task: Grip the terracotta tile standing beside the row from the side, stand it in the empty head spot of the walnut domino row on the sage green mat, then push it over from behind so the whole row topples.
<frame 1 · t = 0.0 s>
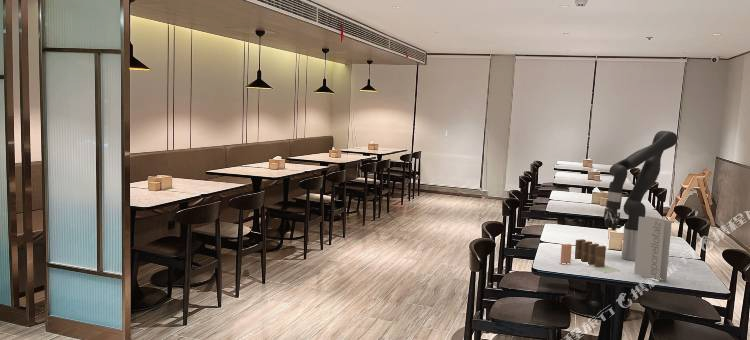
hand: (609, 228, 317), 17 cm above the table, tool pointing down, fingers open, 8 cm apart
tile 4: (592, 264, 304), resting on mat
tile 5: (599, 266, 299), resting on mat
mat: (588, 263, 307), on the table
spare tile: (565, 264, 303), on the table
tile 2: (579, 259, 313), resting on mat
tile 3: (585, 261, 309), resting on mat
brochure: (649, 277, 284), on the table
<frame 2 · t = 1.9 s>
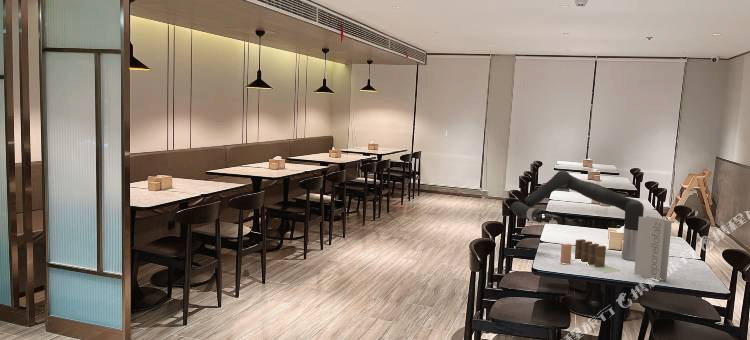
hand: (555, 220, 310), 22 cm above the table, tool horizontal, fingers open, 8 cm apart
nothing on the table moved.
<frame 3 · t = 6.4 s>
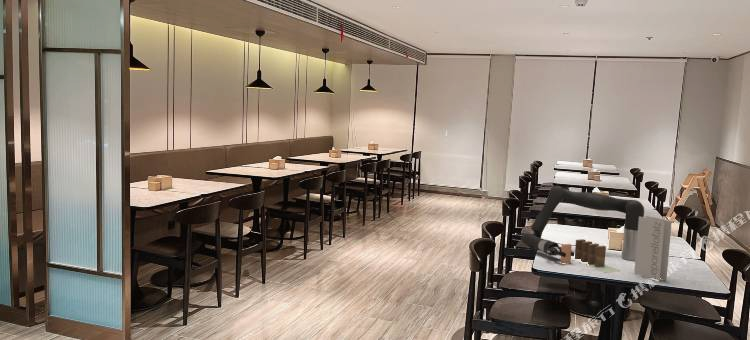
hand: (569, 254, 300), 6 cm above the table, tool horizontal, fingers closed on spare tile, 5 cm apart
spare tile: (565, 264, 303), on the table, touching gripper
everything else where it was.
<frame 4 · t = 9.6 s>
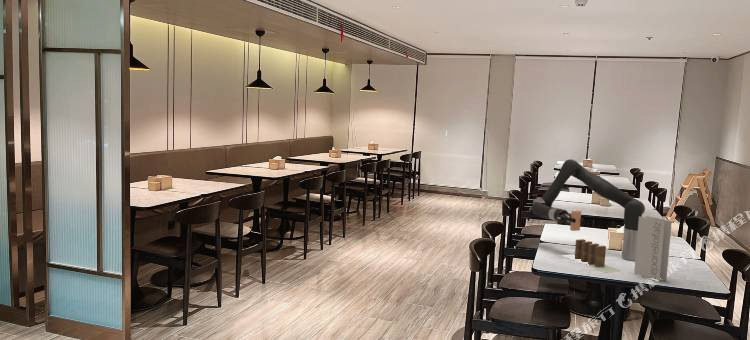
hand: (579, 220, 313), 22 cm above the table, tool horizontal, fingers closed on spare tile, 5 cm apart
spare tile: (574, 230, 316), point 16 cm above the table, touching gripper
everything else where it was.
when the fingers open (8 cm above the table, at t = 12.8 s): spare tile stays where it is, resting on mat.
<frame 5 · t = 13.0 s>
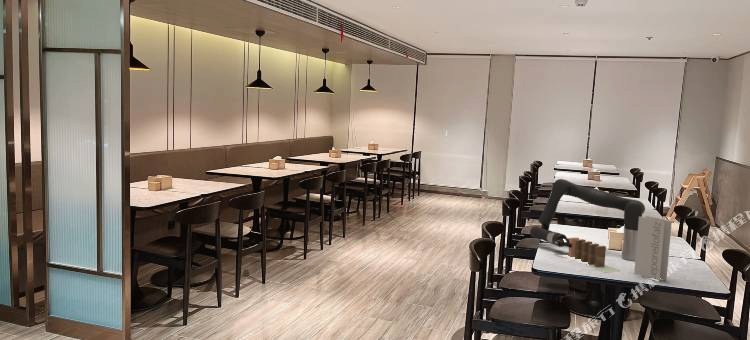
hand: (576, 245, 315), 8 cm above the table, tool horizontal, fingers open, 7 cm apart
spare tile: (572, 256, 318), resting on mat
everything else where it was.
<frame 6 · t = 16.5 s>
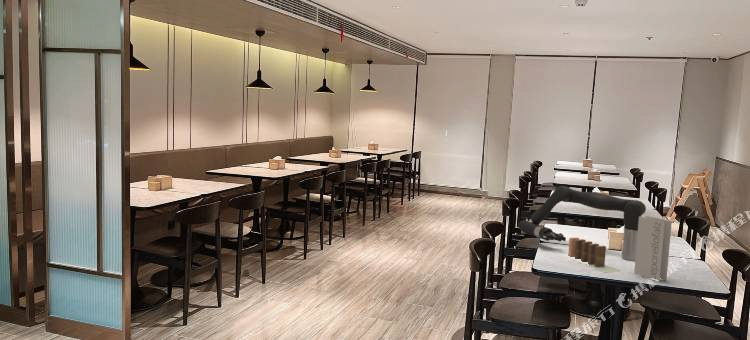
hand: (562, 239, 325), 8 cm above the table, tool horizontal, fingers closed
nothing on the table moved.
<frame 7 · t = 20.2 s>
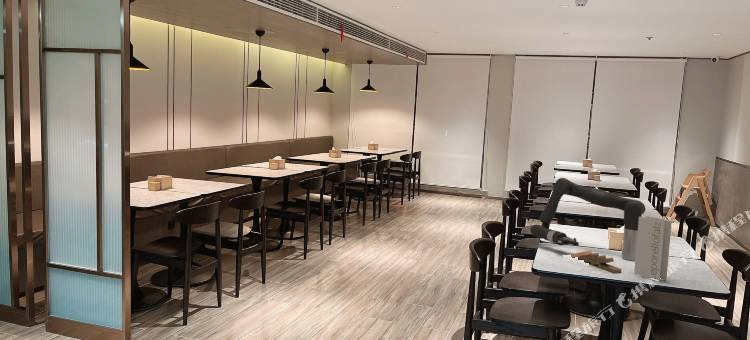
hand: (577, 244, 314), 8 cm above the table, tool horizontal, fingers closed
tile 4: (594, 263, 303), point 1 cm above the table, tilted 66°, touching tile 3, tile 5
tile 5: (601, 265, 298), point 1 cm above the table, tilted 90°, touching mat, tile 4
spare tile: (574, 255, 317), point 1 cm above the table, tilted 67°, touching mat, tile 2
tile 2: (581, 258, 312), point 1 cm above the table, tilted 66°, touching mat, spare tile, tile 3
tile 3: (587, 260, 307), point 1 cm above the table, tilted 66°, touching mat, tile 2, tile 4
everything else where it was.
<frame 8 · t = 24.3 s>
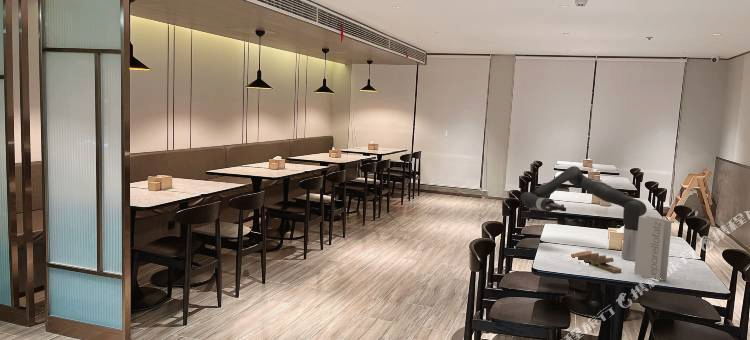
hand: (565, 209, 323), 26 cm above the table, tool horizontal, fingers closed
nothing on the table moved.
at the end: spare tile 1.0 cm from the target spot, point 1.4 cm above the table; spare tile tilted 67°; tile 5 tilted 90° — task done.
